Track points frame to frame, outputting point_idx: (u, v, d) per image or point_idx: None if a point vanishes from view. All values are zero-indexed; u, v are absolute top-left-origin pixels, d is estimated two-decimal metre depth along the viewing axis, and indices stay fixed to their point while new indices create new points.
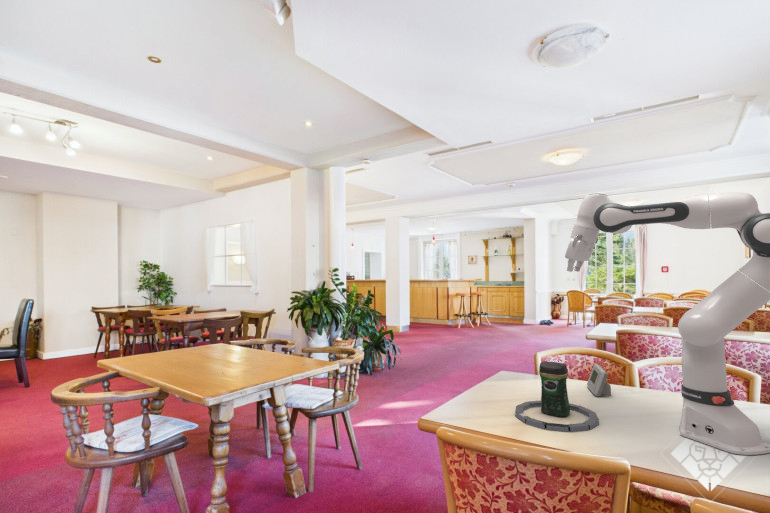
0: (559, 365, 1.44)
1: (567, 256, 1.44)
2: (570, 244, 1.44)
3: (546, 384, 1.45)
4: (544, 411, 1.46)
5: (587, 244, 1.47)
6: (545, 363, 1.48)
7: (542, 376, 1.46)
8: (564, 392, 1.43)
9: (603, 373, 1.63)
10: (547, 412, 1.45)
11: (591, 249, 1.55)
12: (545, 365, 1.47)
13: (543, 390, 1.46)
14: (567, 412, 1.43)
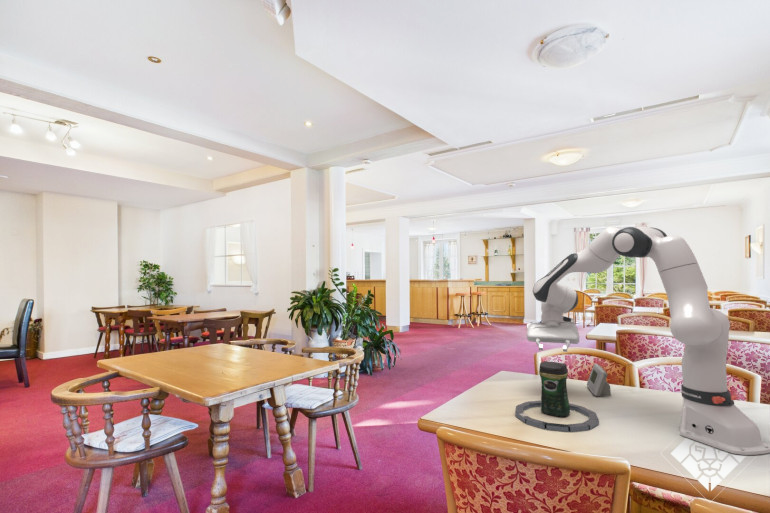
0: (559, 365, 1.44)
1: (527, 338, 1.70)
2: None
3: (546, 384, 1.45)
4: (544, 411, 1.46)
5: (547, 324, 1.69)
6: (545, 363, 1.48)
7: (542, 376, 1.46)
8: (564, 392, 1.43)
9: (603, 373, 1.63)
10: (547, 412, 1.45)
11: (573, 329, 1.64)
12: (545, 365, 1.47)
13: (543, 390, 1.46)
14: (567, 412, 1.43)
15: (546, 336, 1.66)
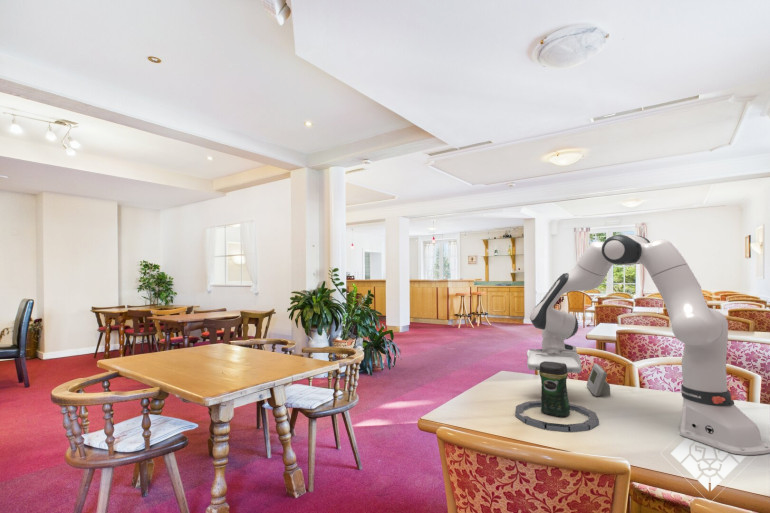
0: (559, 365, 1.44)
1: (527, 366, 1.65)
2: None
3: (546, 384, 1.45)
4: (544, 411, 1.46)
5: (548, 351, 1.63)
6: (545, 363, 1.48)
7: (542, 376, 1.46)
8: (564, 392, 1.43)
9: (602, 373, 1.63)
10: (547, 412, 1.45)
11: (574, 357, 1.59)
12: (545, 365, 1.47)
13: (543, 390, 1.46)
14: (567, 412, 1.43)
15: None
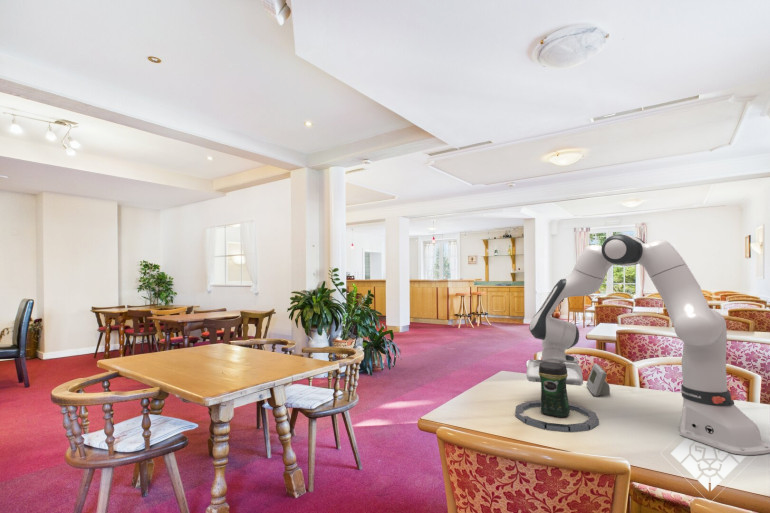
0: (559, 365, 1.43)
1: (527, 378, 1.59)
2: None
3: (546, 385, 1.44)
4: (544, 412, 1.45)
5: None
6: (545, 363, 1.47)
7: (542, 377, 1.46)
8: (564, 392, 1.43)
9: (602, 373, 1.63)
10: (547, 413, 1.44)
11: (576, 369, 1.52)
12: (545, 365, 1.46)
13: (543, 391, 1.45)
14: (567, 412, 1.42)
15: None
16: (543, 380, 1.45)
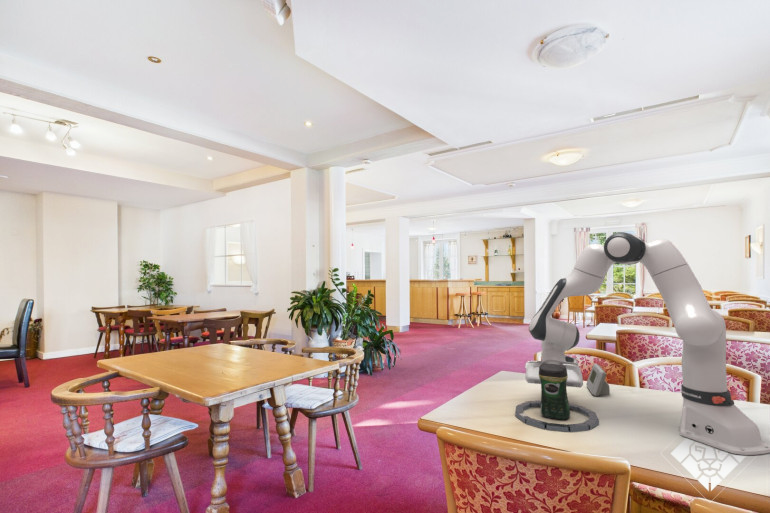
0: (560, 367, 1.41)
1: (526, 380, 1.56)
2: None
3: (547, 387, 1.41)
4: (545, 415, 1.42)
5: None
6: (545, 365, 1.44)
7: (543, 379, 1.42)
8: (565, 394, 1.40)
9: (601, 373, 1.63)
10: (548, 416, 1.41)
11: (576, 370, 1.50)
12: (545, 368, 1.42)
13: (544, 393, 1.42)
14: (568, 414, 1.40)
15: None
16: (544, 383, 1.42)
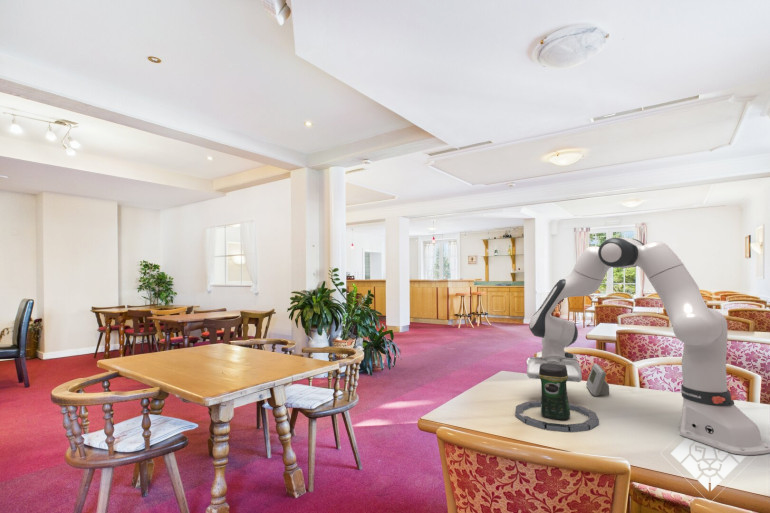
0: (560, 367, 1.41)
1: (527, 375, 1.63)
2: None
3: (547, 387, 1.42)
4: (545, 415, 1.42)
5: (548, 360, 1.61)
6: (545, 365, 1.44)
7: (543, 379, 1.43)
8: (565, 394, 1.40)
9: (601, 373, 1.64)
10: (548, 416, 1.41)
11: (575, 366, 1.57)
12: (546, 367, 1.43)
13: (544, 393, 1.42)
14: (568, 415, 1.40)
15: None
16: (544, 382, 1.42)
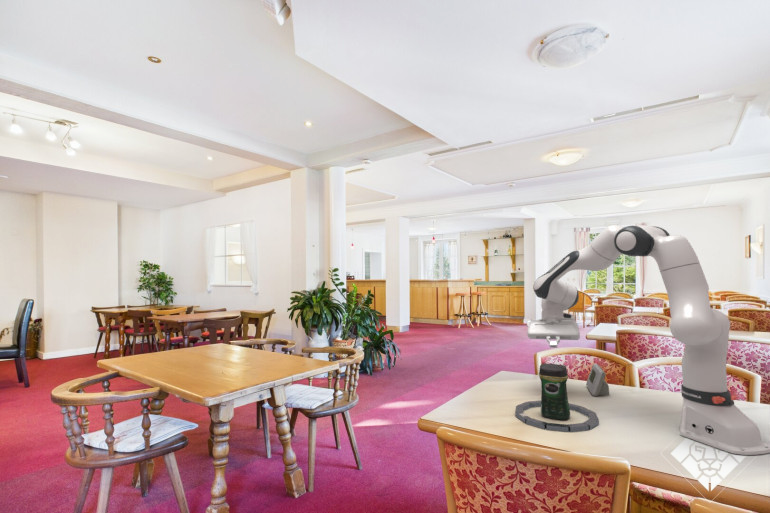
0: (560, 367, 1.41)
1: (528, 336, 1.70)
2: None
3: (547, 387, 1.42)
4: (545, 415, 1.42)
5: (547, 321, 1.69)
6: (545, 365, 1.44)
7: (543, 379, 1.43)
8: (565, 394, 1.40)
9: (601, 373, 1.64)
10: (548, 416, 1.41)
11: (573, 325, 1.64)
12: (546, 367, 1.43)
13: (544, 393, 1.42)
14: (568, 415, 1.40)
15: (546, 333, 1.66)
16: (544, 382, 1.42)
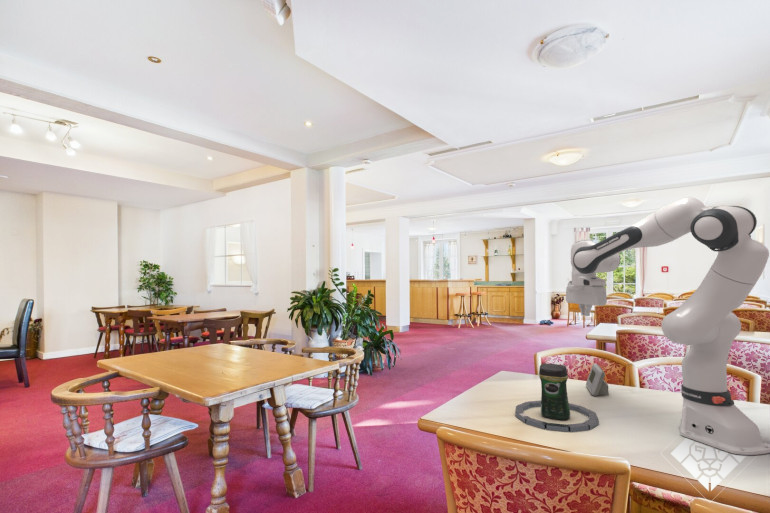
0: (560, 367, 1.41)
1: None
2: None
3: (547, 387, 1.42)
4: (545, 415, 1.42)
5: (575, 287, 1.61)
6: (545, 365, 1.44)
7: (543, 379, 1.43)
8: (565, 394, 1.40)
9: (600, 373, 1.64)
10: (548, 416, 1.41)
11: (593, 292, 1.51)
12: (546, 367, 1.43)
13: (544, 393, 1.42)
14: (568, 415, 1.40)
15: (577, 302, 1.61)
16: (544, 382, 1.42)
